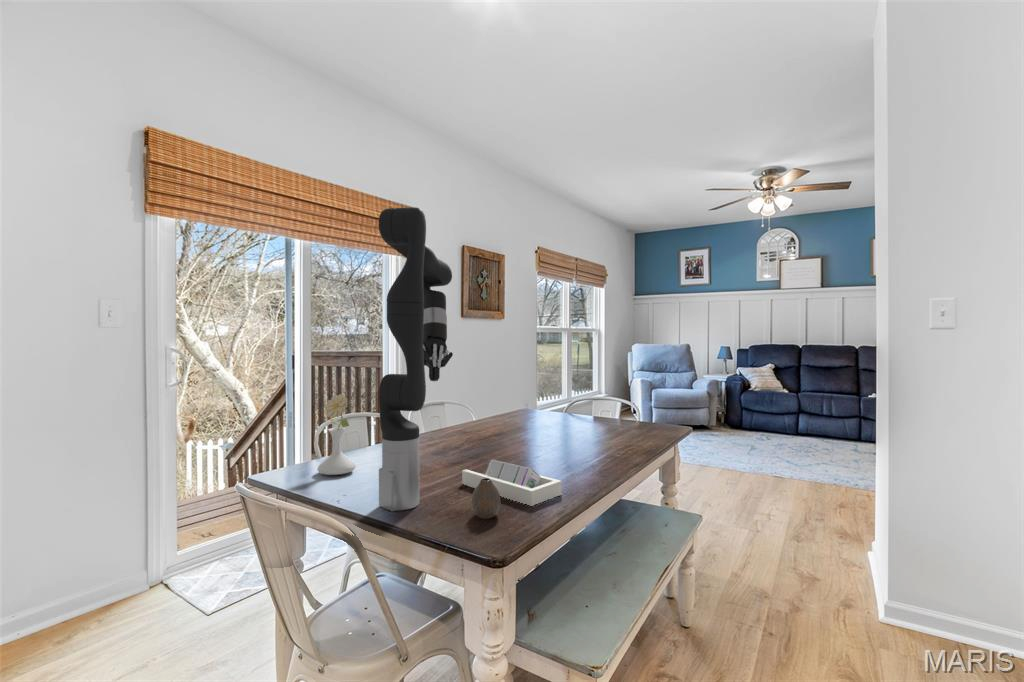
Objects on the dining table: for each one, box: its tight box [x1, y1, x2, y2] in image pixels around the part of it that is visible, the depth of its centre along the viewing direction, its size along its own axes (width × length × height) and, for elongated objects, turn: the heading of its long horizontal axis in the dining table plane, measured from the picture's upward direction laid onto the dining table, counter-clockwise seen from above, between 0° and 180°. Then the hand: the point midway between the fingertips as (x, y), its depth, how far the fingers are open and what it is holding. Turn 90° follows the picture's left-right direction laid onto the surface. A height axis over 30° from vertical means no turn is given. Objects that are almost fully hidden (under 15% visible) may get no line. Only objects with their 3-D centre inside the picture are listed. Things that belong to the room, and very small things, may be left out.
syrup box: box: [484, 459, 542, 488], centre depth 137 cm, size 6×6×14 cm
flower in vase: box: [317, 393, 357, 476], centre depth 153 cm, size 13×11×25 cm
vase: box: [471, 478, 501, 520], centre depth 118 cm, size 7×7×9 cm
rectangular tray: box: [461, 462, 563, 507], centre depth 138 cm, size 12×27×4 cm, turn 46°
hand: (434, 380), depth 146 cm, fingers closed
